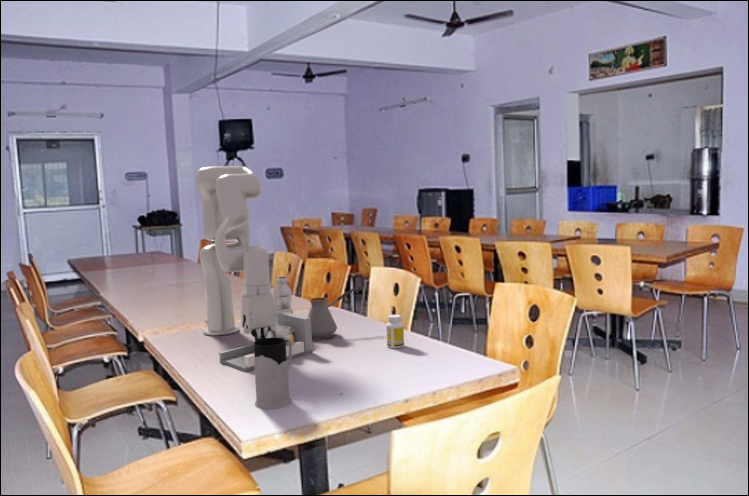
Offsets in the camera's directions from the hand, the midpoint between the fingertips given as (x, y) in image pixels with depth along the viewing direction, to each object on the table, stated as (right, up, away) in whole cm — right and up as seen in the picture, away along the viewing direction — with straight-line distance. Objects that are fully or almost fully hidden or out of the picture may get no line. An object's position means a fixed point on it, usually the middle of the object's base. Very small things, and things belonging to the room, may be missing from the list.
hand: (261, 349), depth 182 cm
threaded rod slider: (+9, 0, +6) cm, 10 cm away
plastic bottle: (+3, 0, +28) cm, 28 cm away
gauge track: (+2, -3, +1) cm, 3 cm away
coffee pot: (+20, +1, +26) cm, 33 cm away
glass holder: (+11, -6, -34) cm, 36 cm away
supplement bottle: (+41, -1, +8) cm, 42 cm away
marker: (+9, +2, -1) cm, 9 cm away
